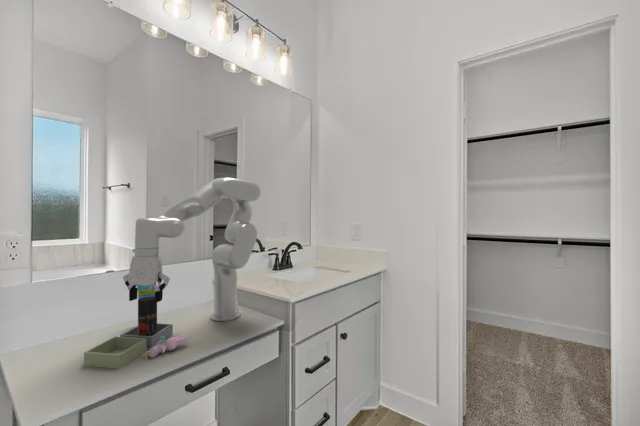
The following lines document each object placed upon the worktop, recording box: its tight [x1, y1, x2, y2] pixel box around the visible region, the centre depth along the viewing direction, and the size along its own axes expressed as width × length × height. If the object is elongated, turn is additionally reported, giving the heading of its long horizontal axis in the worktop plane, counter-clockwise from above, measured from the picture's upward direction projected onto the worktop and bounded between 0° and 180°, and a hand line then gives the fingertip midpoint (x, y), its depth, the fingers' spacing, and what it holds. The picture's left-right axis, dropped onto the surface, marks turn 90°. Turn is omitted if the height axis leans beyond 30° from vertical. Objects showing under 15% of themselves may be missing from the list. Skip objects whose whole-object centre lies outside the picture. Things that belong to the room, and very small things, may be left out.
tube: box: [136, 285, 157, 300], centre depth 123 cm, size 7×5×19 cm, turn 123°
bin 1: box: [83, 335, 148, 369], centre depth 97 cm, size 12×12×4 cm
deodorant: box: [137, 296, 158, 336], centre depth 109 cm, size 6×6×15 cm
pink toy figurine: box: [141, 333, 191, 360], centre depth 101 cm, size 6×6×15 cm
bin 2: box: [119, 322, 174, 350], centre depth 109 cm, size 12×12×4 cm
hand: (145, 300), depth 108 cm, fingers open, 9 cm apart
